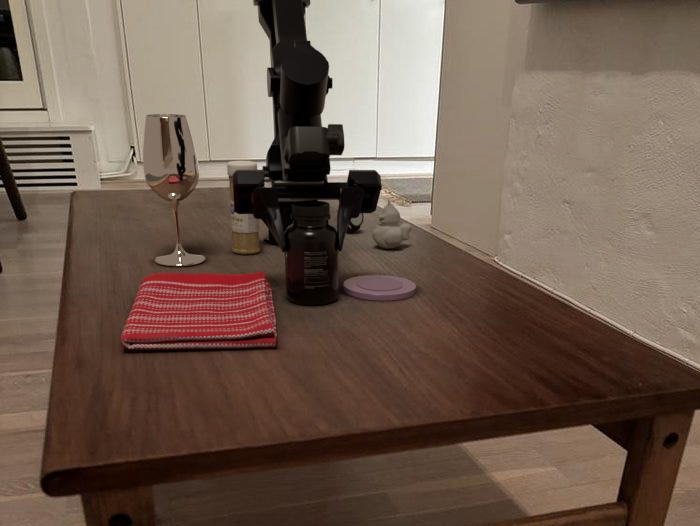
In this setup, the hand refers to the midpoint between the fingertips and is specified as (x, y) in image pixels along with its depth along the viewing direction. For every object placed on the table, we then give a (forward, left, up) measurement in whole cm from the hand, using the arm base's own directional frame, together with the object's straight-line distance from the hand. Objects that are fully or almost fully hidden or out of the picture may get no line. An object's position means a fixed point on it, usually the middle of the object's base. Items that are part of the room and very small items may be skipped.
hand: (312, 250), depth 93 cm
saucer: (-10, +3, -7) cm, 13 cm away
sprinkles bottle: (-13, -26, -7) cm, 30 cm away
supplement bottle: (-1, -1, -7) cm, 7 cm away
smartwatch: (-37, -24, -7) cm, 45 cm away
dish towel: (+14, -5, -7) cm, 16 cm away
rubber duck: (-32, -11, -7) cm, 34 cm away
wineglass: (-2, -29, -7) cm, 30 cm away
